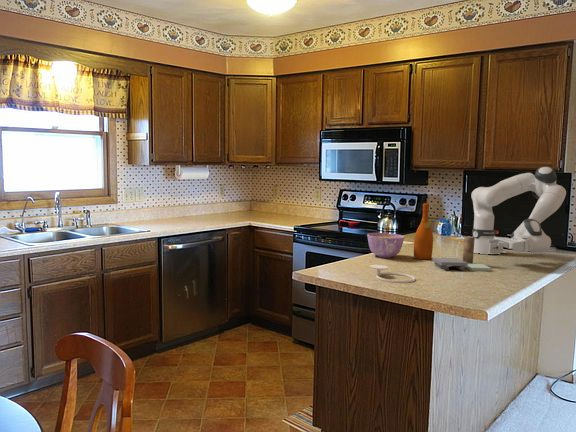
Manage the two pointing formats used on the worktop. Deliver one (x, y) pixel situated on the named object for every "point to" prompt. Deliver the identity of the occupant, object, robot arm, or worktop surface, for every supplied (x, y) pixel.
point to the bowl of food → (385, 244)
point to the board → (478, 267)
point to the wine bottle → (423, 237)
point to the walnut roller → (468, 249)
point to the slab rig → (450, 263)
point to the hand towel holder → (382, 267)
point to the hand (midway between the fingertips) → (493, 242)
